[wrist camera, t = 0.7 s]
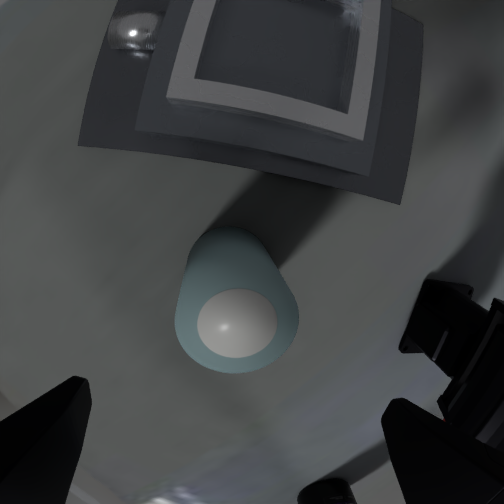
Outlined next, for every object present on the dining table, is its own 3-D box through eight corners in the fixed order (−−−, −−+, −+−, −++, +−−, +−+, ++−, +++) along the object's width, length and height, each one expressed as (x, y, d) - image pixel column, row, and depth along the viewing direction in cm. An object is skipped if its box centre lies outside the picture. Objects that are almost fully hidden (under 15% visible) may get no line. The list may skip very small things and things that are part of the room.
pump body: (276, 233, 18) (312, 276, 12) (260, 308, 20) (282, 377, 13) (193, 220, 18) (181, 257, 11) (182, 298, 19) (170, 366, 12)
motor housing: (417, 27, 15) (454, 10, 11) (393, 203, 19) (435, 215, 14) (142, -41, 12) (130, -77, 7) (82, 146, 15) (46, 143, 11)
